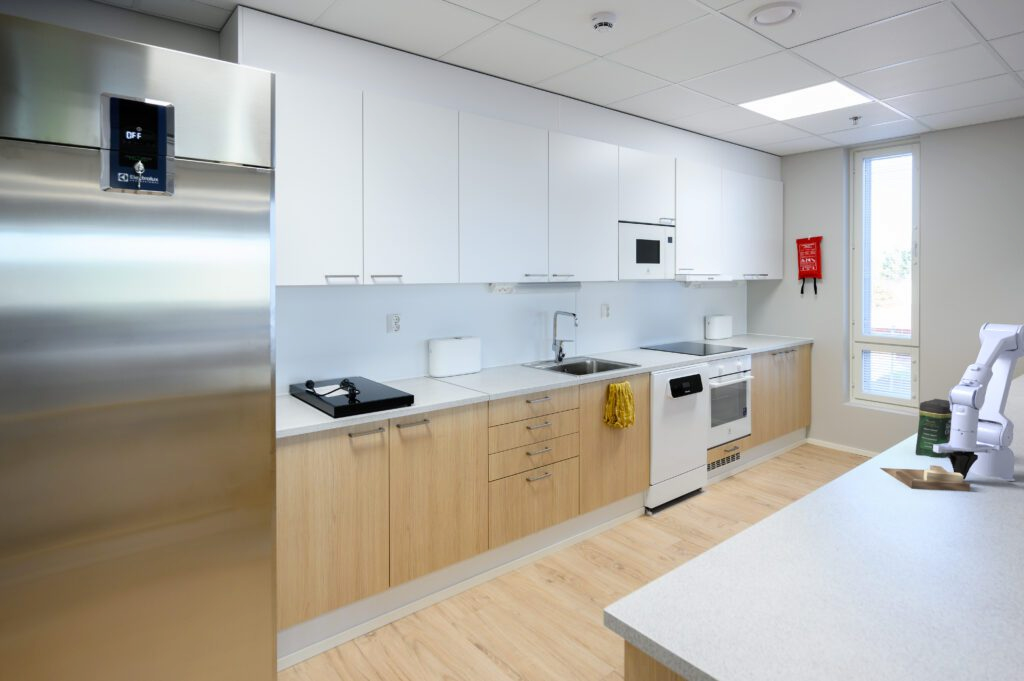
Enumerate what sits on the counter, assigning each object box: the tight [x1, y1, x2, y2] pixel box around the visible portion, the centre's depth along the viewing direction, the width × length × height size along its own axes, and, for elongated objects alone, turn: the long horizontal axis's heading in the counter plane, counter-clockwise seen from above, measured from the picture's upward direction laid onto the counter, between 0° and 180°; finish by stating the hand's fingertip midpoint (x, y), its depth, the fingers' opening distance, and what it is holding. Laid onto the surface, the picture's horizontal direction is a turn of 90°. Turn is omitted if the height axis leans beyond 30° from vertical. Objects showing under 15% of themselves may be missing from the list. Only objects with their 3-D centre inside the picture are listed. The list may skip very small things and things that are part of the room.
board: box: [879, 467, 971, 492], centre depth 159 cm, size 14×17×3 cm
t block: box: [923, 464, 964, 482], centre depth 156 cm, size 8×8×4 cm
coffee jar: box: [915, 398, 952, 459], centre depth 182 cm, size 10×8×19 cm
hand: (959, 478), depth 157 cm, fingers closed
